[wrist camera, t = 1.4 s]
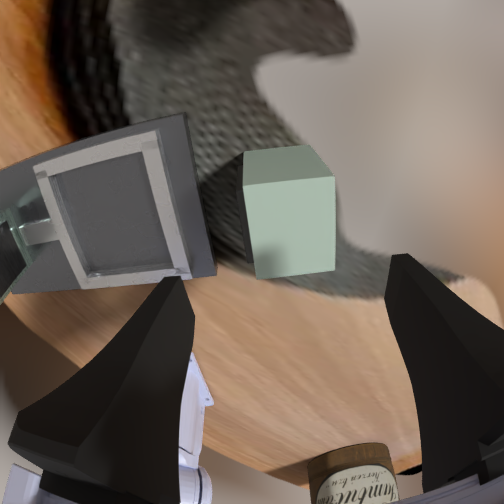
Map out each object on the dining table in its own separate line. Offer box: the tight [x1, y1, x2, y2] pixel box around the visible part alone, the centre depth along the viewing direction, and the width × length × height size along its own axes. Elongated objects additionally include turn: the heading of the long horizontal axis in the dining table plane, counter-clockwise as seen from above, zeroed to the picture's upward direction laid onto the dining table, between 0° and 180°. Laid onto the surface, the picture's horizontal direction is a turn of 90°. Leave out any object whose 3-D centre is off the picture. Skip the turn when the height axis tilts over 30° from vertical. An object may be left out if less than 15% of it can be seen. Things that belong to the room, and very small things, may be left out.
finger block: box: [236, 145, 335, 280], centre depth 17 cm, size 4×5×6 cm
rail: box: [0, 112, 218, 305], centre depth 18 cm, size 20×11×7 cm, turn 97°
